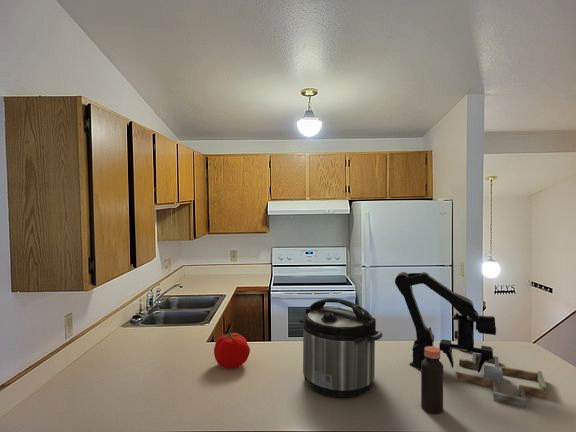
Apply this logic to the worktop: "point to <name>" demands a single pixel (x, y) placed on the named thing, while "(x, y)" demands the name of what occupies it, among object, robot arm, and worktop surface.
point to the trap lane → (507, 371)
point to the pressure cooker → (339, 348)
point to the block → (493, 373)
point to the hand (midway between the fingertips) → (465, 369)
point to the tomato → (231, 351)
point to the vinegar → (432, 381)
